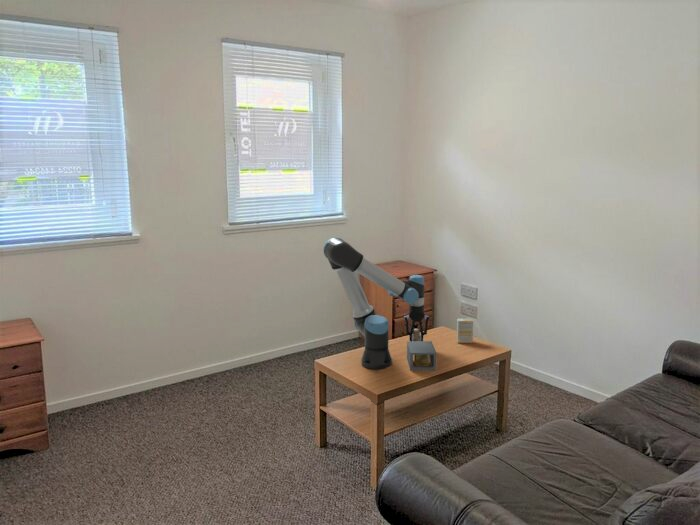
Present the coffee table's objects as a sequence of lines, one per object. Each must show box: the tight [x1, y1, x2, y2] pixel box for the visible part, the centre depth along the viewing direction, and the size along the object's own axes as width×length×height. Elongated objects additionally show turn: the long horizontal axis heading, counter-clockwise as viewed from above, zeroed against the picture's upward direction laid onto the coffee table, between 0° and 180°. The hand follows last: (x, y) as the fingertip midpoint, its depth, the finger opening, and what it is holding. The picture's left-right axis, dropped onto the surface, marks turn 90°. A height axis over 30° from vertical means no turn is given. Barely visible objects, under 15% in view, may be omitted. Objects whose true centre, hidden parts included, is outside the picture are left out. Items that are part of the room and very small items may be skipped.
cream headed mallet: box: [412, 328, 429, 367], centre depth 282 cm, size 6×25×10 cm, turn 0°
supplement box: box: [456, 317, 474, 344], centre depth 302 cm, size 8×5×13 cm, turn 84°
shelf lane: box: [406, 340, 437, 372], centre depth 272 cm, size 12×16×9 cm
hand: (416, 346), depth 294 cm, fingers closed on cream headed mallet, 3 cm apart
